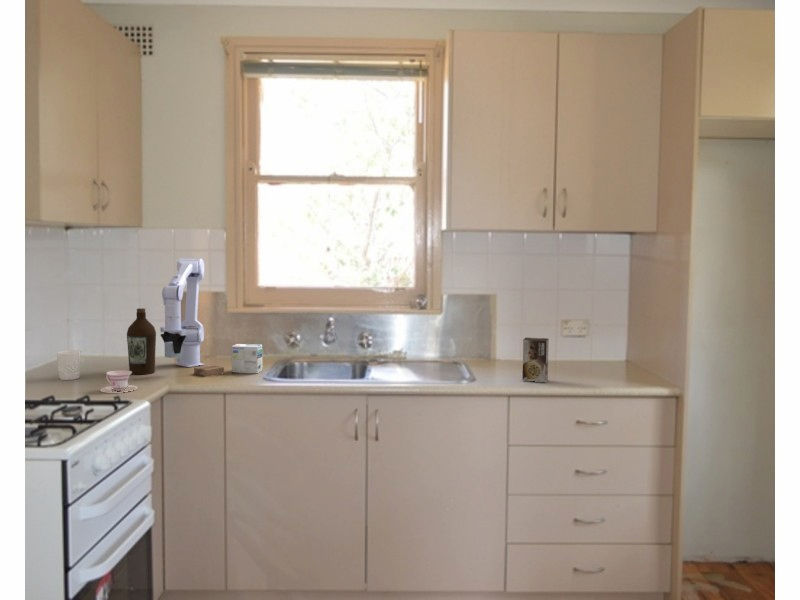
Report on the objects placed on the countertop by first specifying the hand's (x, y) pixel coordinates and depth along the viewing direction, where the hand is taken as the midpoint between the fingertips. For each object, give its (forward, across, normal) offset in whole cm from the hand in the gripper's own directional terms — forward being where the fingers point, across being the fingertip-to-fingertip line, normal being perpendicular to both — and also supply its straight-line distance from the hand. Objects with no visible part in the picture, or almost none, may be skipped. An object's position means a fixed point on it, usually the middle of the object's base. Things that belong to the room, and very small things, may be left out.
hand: (173, 352), depth 267 cm
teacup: (+9, +8, -27) cm, 30 cm away
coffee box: (+9, +107, +87) cm, 138 cm away
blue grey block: (+2, 0, 0) cm, 2 cm away
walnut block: (+9, +7, +11) cm, 16 cm away
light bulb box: (+9, +14, +24) cm, 29 cm away
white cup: (+9, -23, -29) cm, 38 cm away
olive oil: (+9, -14, -5) cm, 17 cm away
